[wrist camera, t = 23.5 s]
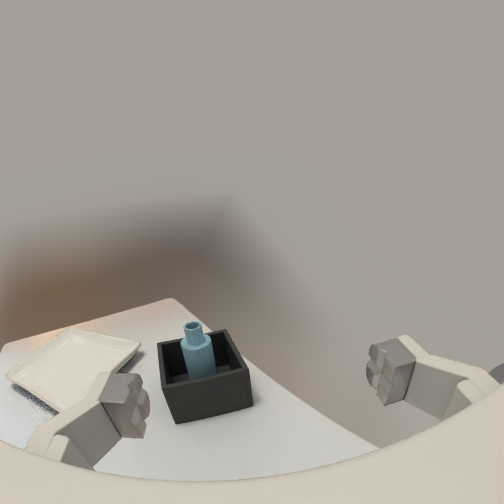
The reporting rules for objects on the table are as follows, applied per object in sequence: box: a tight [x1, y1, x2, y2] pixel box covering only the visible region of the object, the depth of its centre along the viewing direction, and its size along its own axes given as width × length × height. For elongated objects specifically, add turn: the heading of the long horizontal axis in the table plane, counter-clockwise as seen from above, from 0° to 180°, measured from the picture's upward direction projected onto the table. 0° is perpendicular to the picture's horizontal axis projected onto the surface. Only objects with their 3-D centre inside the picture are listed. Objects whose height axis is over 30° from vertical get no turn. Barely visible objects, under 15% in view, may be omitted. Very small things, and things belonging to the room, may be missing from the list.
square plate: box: [5, 327, 141, 413], centre depth 49 cm, size 27×27×4 cm
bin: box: [157, 329, 253, 424], centre depth 46 cm, size 14×14×9 cm
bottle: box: [181, 321, 218, 380], centre depth 45 cm, size 5×5×14 cm
